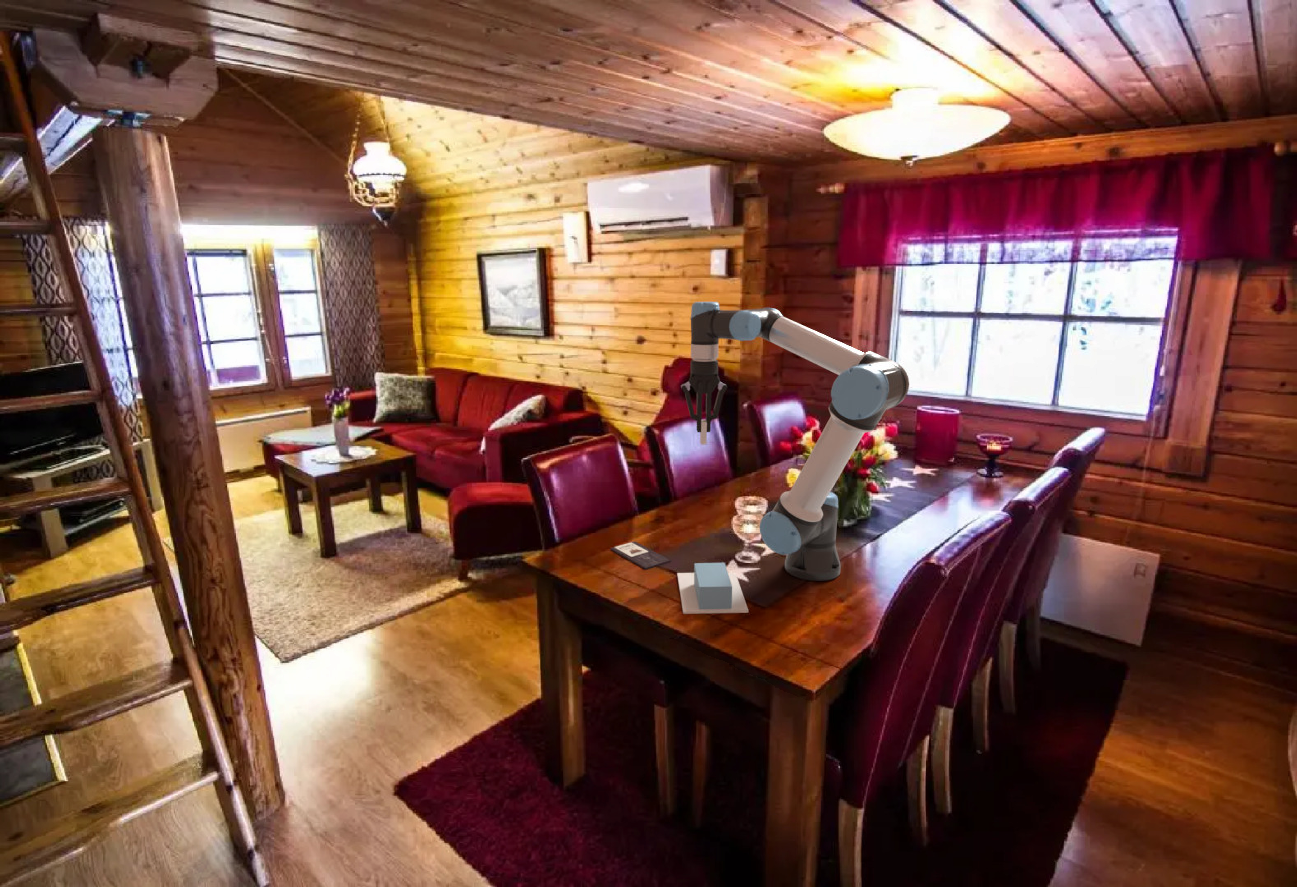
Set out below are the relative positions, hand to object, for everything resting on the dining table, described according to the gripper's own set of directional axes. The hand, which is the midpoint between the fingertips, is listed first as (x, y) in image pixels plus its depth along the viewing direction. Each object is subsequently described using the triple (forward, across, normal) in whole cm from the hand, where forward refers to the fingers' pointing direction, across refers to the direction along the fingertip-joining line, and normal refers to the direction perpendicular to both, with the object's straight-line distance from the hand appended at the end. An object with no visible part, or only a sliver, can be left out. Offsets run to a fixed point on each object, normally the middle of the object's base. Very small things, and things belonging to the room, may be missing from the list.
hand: (703, 443), depth 191 cm
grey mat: (+34, 0, +23) cm, 41 cm away
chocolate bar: (+35, +18, -2) cm, 40 cm away
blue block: (+31, 0, +19) cm, 36 cm away
